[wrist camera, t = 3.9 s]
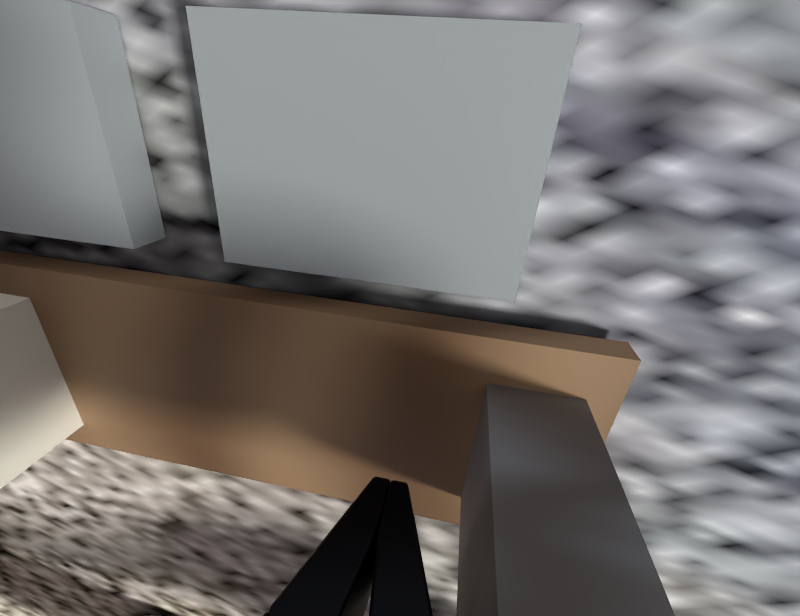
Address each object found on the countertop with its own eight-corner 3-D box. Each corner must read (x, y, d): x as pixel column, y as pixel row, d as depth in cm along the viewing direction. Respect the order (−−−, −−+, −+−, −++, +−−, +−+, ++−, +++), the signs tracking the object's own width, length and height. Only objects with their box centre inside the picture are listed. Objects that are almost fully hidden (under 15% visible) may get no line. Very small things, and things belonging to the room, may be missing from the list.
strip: (627, 342, 9) (831, 629, 4) (552, 521, 12) (610, 808, 7) (-104, 235, 12) (-550, 320, 7) (-9, 404, 15) (-261, 549, 10)
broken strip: (565, 37, 7) (580, 23, 6) (510, 283, 9) (514, 302, 8) (-156, 1, 9) (-231, -14, 8) (-55, 208, 11) (-105, 216, 10)
